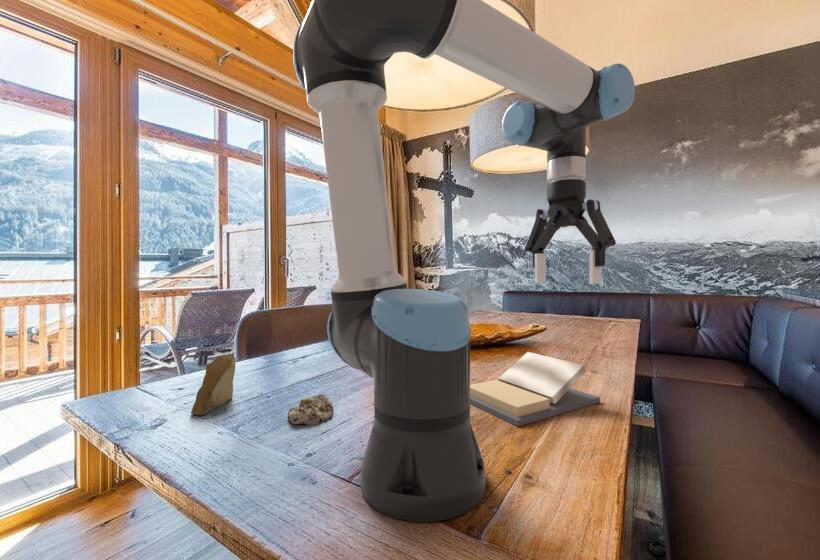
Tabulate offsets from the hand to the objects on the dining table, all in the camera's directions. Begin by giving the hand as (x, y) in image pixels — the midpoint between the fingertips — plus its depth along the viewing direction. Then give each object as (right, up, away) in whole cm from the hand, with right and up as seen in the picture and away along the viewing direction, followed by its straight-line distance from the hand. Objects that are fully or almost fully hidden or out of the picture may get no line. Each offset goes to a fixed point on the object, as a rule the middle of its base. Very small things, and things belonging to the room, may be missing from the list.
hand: (565, 283), depth 79 cm
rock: (-72, -24, -5) cm, 76 cm away
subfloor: (-9, -23, -5) cm, 25 cm away
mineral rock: (-51, -24, -11) cm, 57 cm away
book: (-6, -19, -3) cm, 21 cm away
